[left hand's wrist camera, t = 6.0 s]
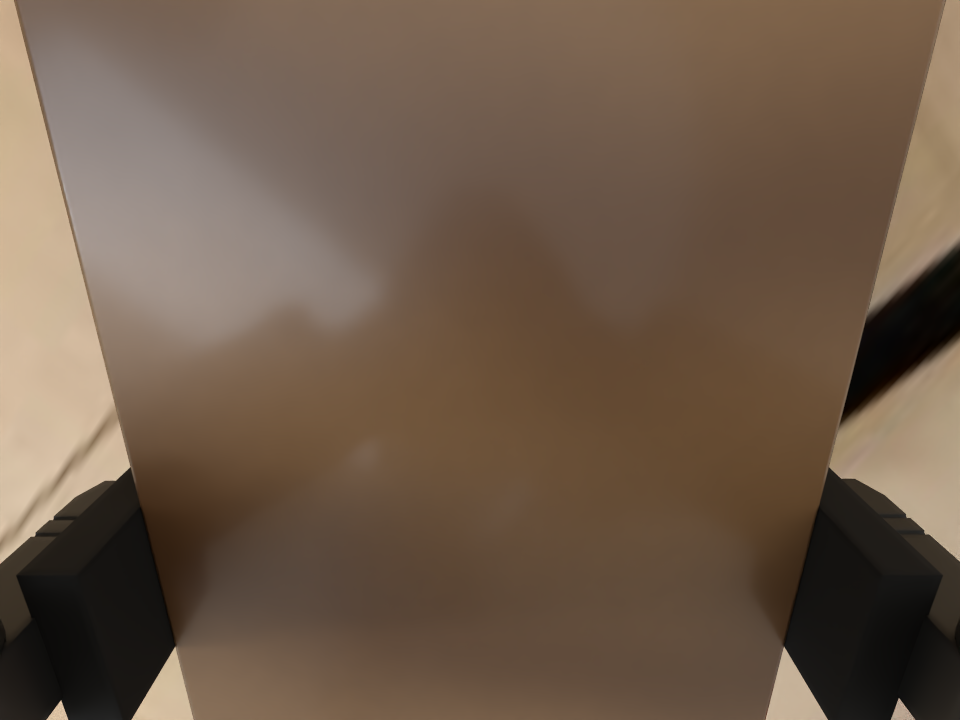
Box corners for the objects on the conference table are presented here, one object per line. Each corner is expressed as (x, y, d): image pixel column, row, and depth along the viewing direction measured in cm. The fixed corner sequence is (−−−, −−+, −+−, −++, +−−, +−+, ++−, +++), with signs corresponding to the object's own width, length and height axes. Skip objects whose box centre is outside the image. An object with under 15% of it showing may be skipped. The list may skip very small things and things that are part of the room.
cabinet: (215, -445, 11) (-503, -2028, 3) (745, -445, 11) (1462, -2028, 3) (322, 492, 18) (201, 762, 10) (637, 492, 18) (756, 762, 10)
